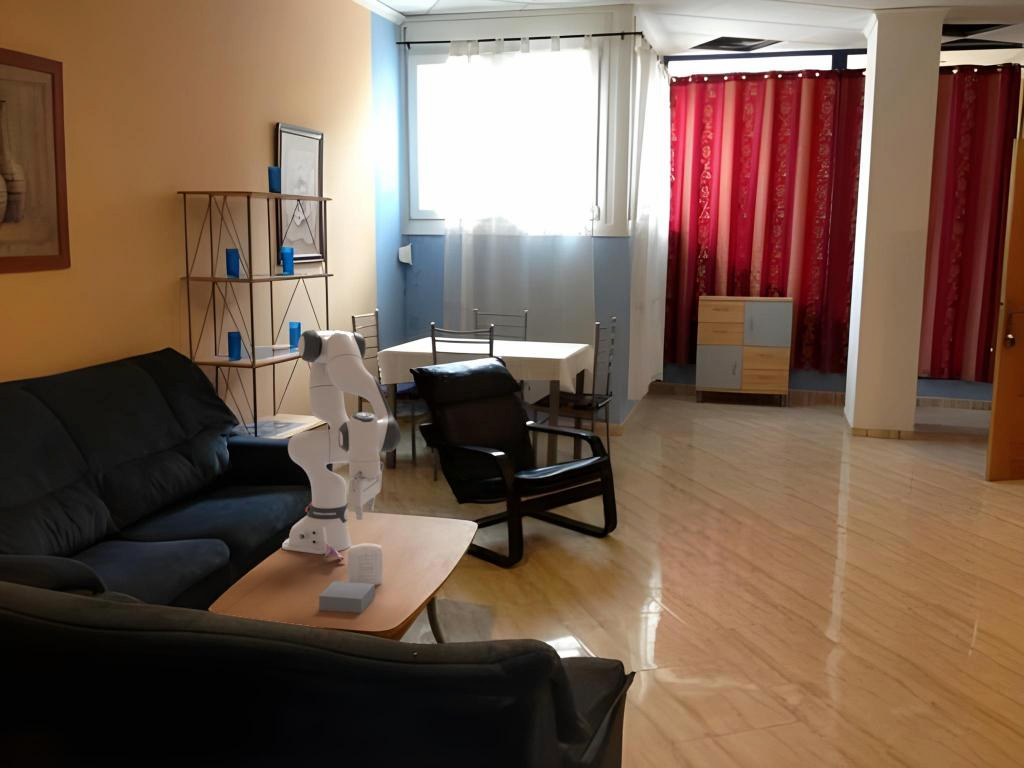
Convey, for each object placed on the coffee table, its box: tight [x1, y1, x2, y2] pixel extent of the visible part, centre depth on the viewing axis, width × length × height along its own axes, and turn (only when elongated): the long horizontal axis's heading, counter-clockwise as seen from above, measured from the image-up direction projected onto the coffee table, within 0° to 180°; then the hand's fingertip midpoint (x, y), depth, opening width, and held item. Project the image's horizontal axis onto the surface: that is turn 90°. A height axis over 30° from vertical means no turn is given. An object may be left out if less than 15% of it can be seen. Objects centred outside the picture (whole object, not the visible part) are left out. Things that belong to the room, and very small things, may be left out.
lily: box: [320, 534, 346, 565], centre depth 287 cm, size 12×12×10 cm
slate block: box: [318, 580, 376, 614], centre depth 255 cm, size 12×12×4 cm
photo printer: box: [347, 542, 384, 586], centre depth 270 cm, size 10×4×12 cm, turn 103°
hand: (365, 514), depth 268 cm, fingers open, 8 cm apart
